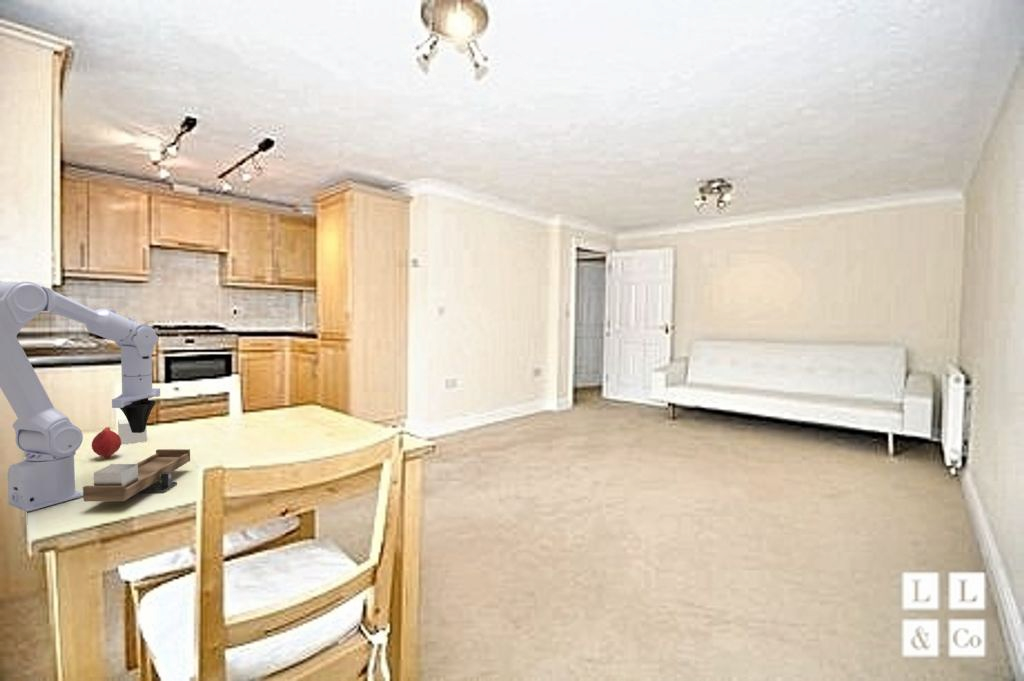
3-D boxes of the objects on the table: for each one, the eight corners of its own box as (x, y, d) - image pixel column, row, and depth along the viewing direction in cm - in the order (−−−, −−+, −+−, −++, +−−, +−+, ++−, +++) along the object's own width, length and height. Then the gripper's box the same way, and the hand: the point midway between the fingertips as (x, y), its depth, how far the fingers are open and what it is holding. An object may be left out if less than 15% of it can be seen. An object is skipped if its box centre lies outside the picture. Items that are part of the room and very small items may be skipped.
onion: (104, 462, 125) (104, 430, 125) (86, 460, 126) (85, 428, 126) (127, 455, 131) (126, 425, 130) (108, 453, 132) (108, 423, 131)
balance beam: (124, 501, 97) (124, 487, 97) (82, 501, 97) (82, 487, 96) (190, 460, 121) (190, 449, 121) (157, 460, 120) (157, 449, 120)
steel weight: (122, 492, 98) (121, 472, 98) (94, 492, 98) (93, 472, 98) (138, 483, 103) (137, 464, 103) (112, 483, 103) (111, 464, 103)
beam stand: (163, 493, 107) (163, 476, 107) (107, 493, 106) (106, 477, 106) (177, 484, 112) (176, 469, 112) (122, 484, 111) (122, 469, 111)
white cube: (144, 437, 148) (143, 417, 148) (146, 442, 144) (146, 421, 143) (118, 440, 144) (117, 419, 144) (120, 445, 140) (119, 424, 139)
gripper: (135, 379, 111) (136, 440, 112) (172, 371, 126) (173, 424, 127) (101, 379, 111) (102, 440, 112) (142, 370, 125) (143, 424, 126)
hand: (138, 432), depth 119 cm, fingers closed
